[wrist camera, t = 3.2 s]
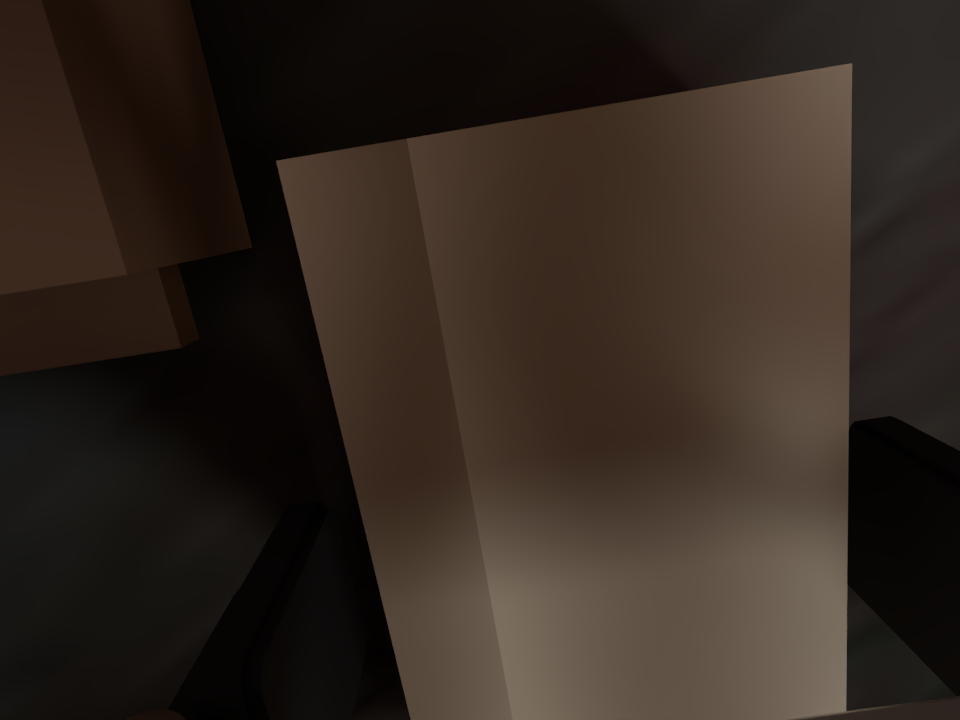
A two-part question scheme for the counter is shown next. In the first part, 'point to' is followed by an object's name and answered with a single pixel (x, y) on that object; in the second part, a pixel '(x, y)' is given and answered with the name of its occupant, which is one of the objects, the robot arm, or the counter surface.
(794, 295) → the maple plank
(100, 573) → the counter surface
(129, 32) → the brown grooved flat slab
